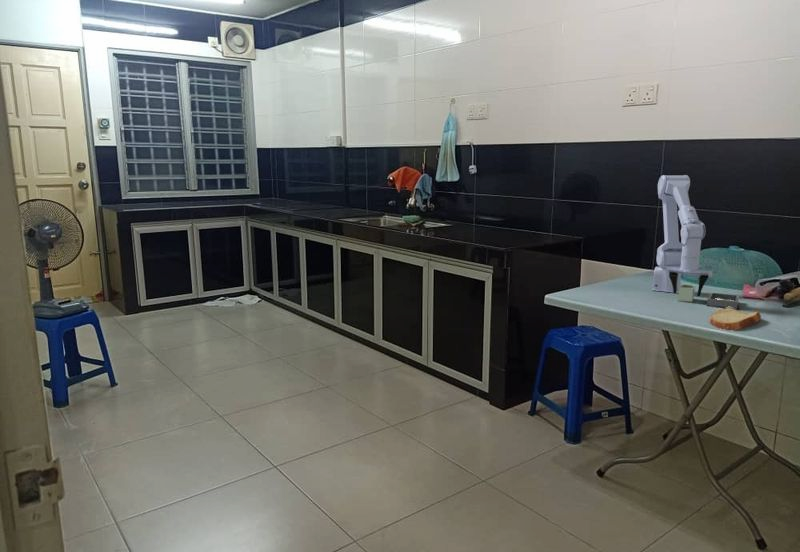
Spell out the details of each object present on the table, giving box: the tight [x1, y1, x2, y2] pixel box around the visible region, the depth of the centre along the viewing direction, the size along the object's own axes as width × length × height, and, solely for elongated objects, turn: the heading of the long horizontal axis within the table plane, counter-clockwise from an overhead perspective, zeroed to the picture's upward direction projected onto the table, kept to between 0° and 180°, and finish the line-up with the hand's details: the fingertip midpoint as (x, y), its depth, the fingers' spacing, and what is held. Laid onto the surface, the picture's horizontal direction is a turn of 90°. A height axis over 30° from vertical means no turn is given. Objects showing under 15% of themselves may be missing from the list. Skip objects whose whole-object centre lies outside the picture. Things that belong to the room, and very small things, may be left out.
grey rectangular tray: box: [706, 292, 740, 310], centre depth 194 cm, size 9×11×2 cm
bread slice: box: [709, 308, 762, 332], centre depth 172 cm, size 18×18×4 cm
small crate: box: [677, 283, 696, 304], centre depth 200 cm, size 4×7×5 cm, turn 146°
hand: (686, 294), depth 200 cm, fingers open, 7 cm apart
